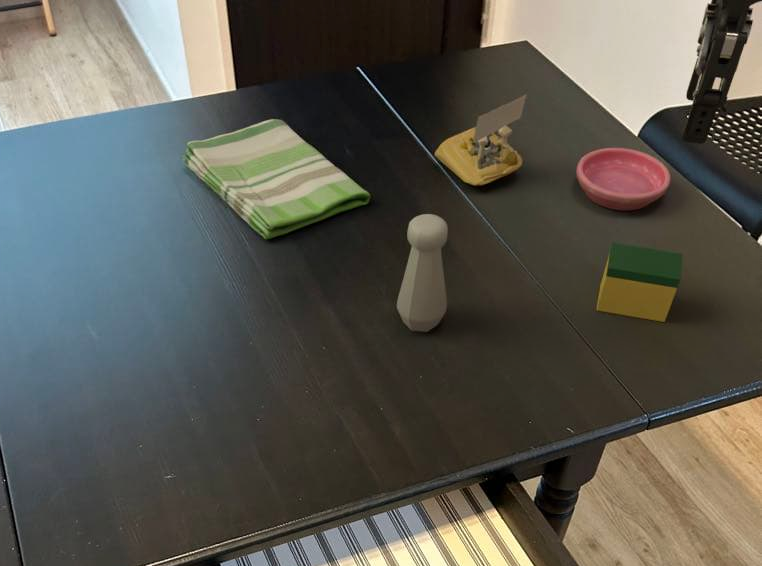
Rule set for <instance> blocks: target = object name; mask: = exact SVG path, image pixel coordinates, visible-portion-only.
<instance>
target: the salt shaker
mask: <svg viewBox="0 0 762 566" xmlns="http://www.w3.org/2000/svg"><path fill="white" fill-rule="evenodd" d="M448 232H449V229H448V224H447V222H446V221H445V220H444V219H443V217H440V216H438V215H437V214H432V213H424V214H423V213H422V214H420V215H416V216H415V217H413V218H412V219H411V220H410V221H409V223H408V227H407V231H406V233H407V235H406V237H407V241H408V243H409V245H410V246H411V248H410V252H409V255H408V258H407V259H408V261H407V262H406V263H407V264H406V267H405V271H404V275H403V279H402V281H401V282H402V283H401V286H400V290H399V294H398V297H397V301H396V309H397V311H398V313H399V316H400V318H401V320H402V323H404V324H405V325H406V327H408V328H409V330H410V331H413V332H425V333H428V332H429V331H430V330H432V329H434V328H435V327H437V326H438V325H439V323H440V322H441V320H442V319H443V317H444V316H445V314H446V312H447V307H448V299H447V292H446V284H445V274H444V266H443V265H444V264H443V255H442V248H443V247H444V246H445V245H446V243H447V240H448V234H449V233H448Z"/></svg>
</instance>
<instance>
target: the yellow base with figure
mask: <svg viewBox="0 0 762 566" xmlns="http://www.w3.org/2000/svg"><path fill="white" fill-rule="evenodd" d="M527 95H528V93H524V95H522V96H520V97H518V98H516V99H513V100H511V101H509V102H507V103H506V104H502V105H500V106H498V107H497V108H494V109H492V110H490V111H489V112H486V113H484V114H481V115H480V116H478V117H477V121H476V125H475V126H474V127H472V128H470V129H467V130H465V131H463V132H461V133H458V134H455V135H453V136H451V137H449V138H446V139H445V140H444V141H443V142H441V144H440V145H439V146H438V148H437V149H436V150H435V152H434V157H435V158H437V160H438V161H440V162H441V163H442V164H443V165H444V166H446V167H447V168H448V169H449V170H450V171H451V172H453V174H455V175H456V176H457V177H458V178H459V179H460V180H461V181H463V182H464V183H466V184H468V185H471V186H474V187H478V186H483V185H486V184H490V183H492V182H494V181H496V180H498V179H500V178H503V177H504V178H505V177H506V176H508V175H510V174H512V173H514V172H516V171H518V170H519V169H520V168H522V166H523V158H522V156H521V155H520V154H519V153H518V151H517V150H515V149H514V148H513V147H512V146H511V145H510V144H509V143H508V137H509V136H510V135H512V134H513V130H512V129H511V128H510V127H509V126H508V125H509V124H511V123H514V122H515V121H517V120H520V119H521V118H522V115H523V111H524V107H525V102H526V100H527ZM549 116H552V113H549ZM496 132H498V135H499V136H498V135H496V134H495V133H496Z"/></svg>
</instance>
